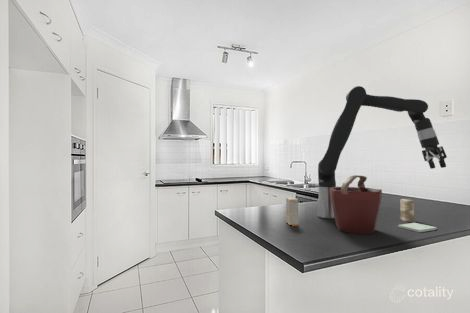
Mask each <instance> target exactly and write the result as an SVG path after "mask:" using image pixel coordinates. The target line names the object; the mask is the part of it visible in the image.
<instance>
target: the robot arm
mask: <svg viewBox="0 0 470 313" xmlns="http://www.w3.org/2000/svg"><path fill="white" fill-rule="evenodd" d="M345 99H346V102H345V105H344V109H343V110H342V112H341V113H340V115H339V117H338V119H337V120H336V122H335V125H334V127H333V129H332V131H331V135H330V138H329V143H328V146H327V150H326V152H325V154H324V156H323V157H322V159H321V160H320V161H319V162H318V164H317V170H318V171H317V176H318V177H317V179H318V199H317V205H316V206H317V207H316V208H317V211H316V212H317V217H319V218H322V219H335V217H334V212H333V207H332V203H331V198H330V188H335V187H337V182H336V170H337V167H338V163H339V160H340V157H341V154H342V152H343V150H344V148H345V146H346V144H347V142H348V139H349V138H350V135H351V134H352V130H353V128H354V125H355V122H356V118H357V117H358V116H357V115H358V113H359V111H360V110H361V107H371V108H379V109H384V110H387V111H388V110H389V111H393V112H398V113H401V112H407V115H408V117H409V118H410V120H411V122H412V123H413V124H414V127H415V130H416V133H417V137H418V140H419V143H420V146H421V148H422V149H423V150H421V154H422V157H423V159H424V162H427V163H428V165H429V168H430V169H436V165H435V162H434V158H435V159H437V160H438V163H439V166H440V168H441V169H443V168H444V169H445V168H446V167H447V165H446V161H445V160H446V159H447V158H448V156H447V154H446V152H445V149H444V147H443V146H439V145H440V142H439V138H438V135H437V133H436V131H435V129H434V127H433V124H432V121H431V119H430V118H428V117H426V115H425V114H424V113H425V112H427V111H428V109H429V104H428V103H427V102H426V101H424V100H421V99H415V98H414V99H413V98H410V99H407V98H401V97H395V96H388V95H372V94H367V91H366V88H364V87H363V86H359V85H358V86H353V87H352V88H350V90H349V91H348V92H347V94H346V96H345Z"/></svg>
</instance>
